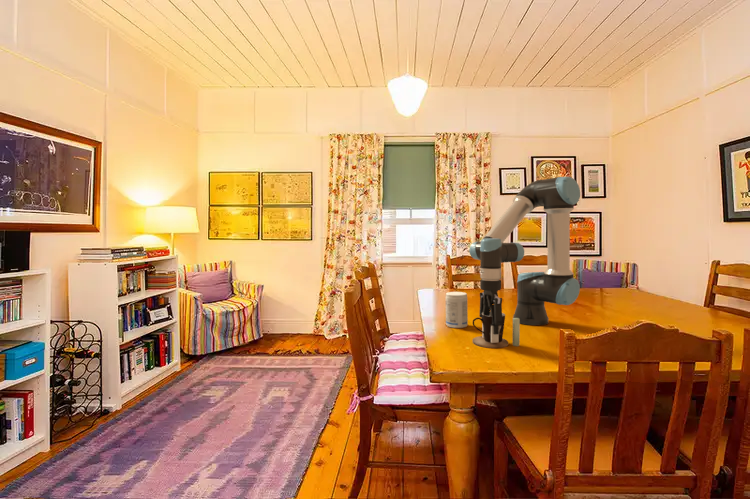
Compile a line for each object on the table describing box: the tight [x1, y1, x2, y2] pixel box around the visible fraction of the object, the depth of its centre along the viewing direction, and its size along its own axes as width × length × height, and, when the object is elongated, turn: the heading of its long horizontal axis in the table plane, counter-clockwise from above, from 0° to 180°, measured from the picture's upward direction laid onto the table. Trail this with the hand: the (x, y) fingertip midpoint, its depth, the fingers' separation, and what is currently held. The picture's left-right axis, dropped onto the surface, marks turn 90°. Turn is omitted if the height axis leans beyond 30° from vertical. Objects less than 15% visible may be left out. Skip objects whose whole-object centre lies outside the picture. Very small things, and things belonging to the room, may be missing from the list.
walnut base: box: [472, 335, 509, 349], centre depth 146 cm, size 13×13×1 cm
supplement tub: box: [445, 291, 469, 329], centre depth 172 cm, size 10×10×15 cm
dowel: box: [512, 317, 521, 347], centre depth 143 cm, size 2×2×10 cm
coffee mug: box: [472, 312, 506, 342], centre depth 147 cm, size 12×9×10 cm
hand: (490, 339), depth 146 cm, fingers closed on coffee mug, 6 cm apart
